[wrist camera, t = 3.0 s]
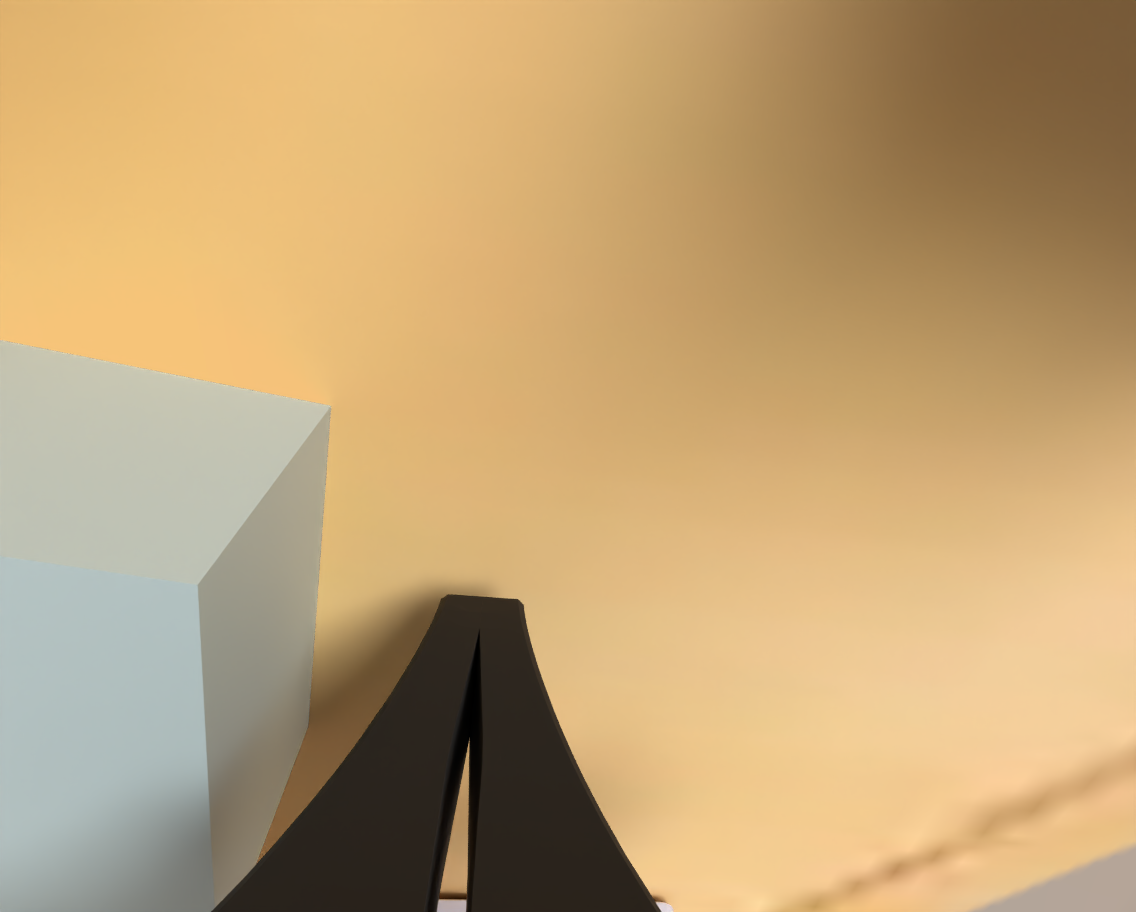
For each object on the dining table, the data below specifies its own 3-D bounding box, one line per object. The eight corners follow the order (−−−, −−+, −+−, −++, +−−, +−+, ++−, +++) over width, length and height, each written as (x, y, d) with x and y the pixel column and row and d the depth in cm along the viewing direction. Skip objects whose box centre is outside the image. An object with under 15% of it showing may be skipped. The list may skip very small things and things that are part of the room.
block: (310, 719, 13) (217, 965, 9) (67, 690, 12) (-149, 946, 9) (333, 402, 10) (197, 585, 6) (-8, 333, 9) (-440, 491, 5)
